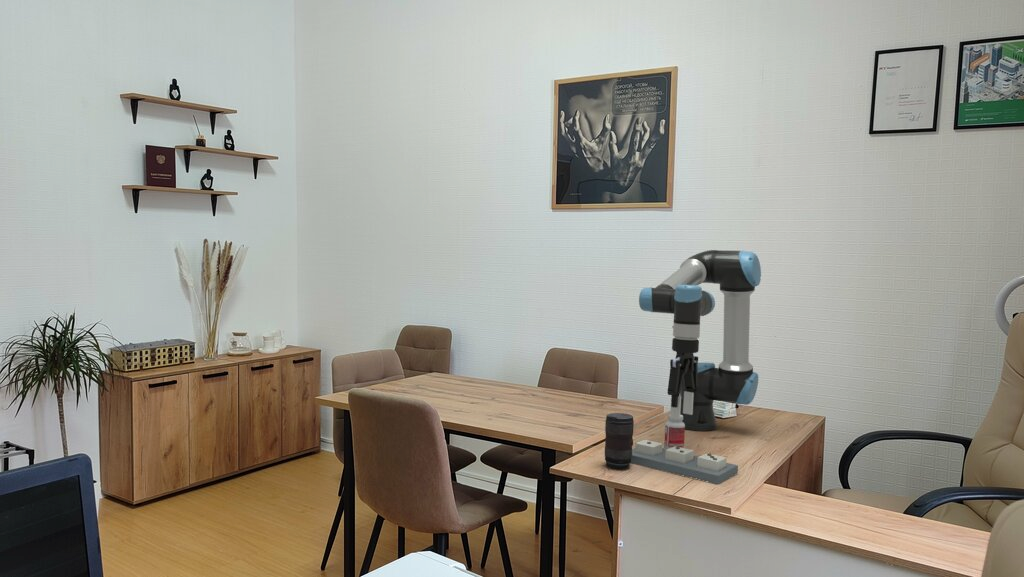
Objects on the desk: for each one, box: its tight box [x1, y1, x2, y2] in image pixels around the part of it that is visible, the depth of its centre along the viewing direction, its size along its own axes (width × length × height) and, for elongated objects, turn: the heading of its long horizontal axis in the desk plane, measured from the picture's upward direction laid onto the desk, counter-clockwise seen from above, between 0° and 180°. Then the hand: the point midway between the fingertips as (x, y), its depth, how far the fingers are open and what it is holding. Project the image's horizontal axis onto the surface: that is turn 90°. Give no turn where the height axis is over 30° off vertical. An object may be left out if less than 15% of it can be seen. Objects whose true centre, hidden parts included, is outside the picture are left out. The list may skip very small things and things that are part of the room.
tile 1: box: [634, 439, 664, 456], centre depth 218 cm, size 6×6×4 cm
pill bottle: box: [663, 413, 686, 449], centre depth 231 cm, size 6×6×11 cm
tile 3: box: [697, 452, 727, 471], centre depth 206 cm, size 6×6×4 cm
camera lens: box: [604, 412, 635, 471], centre depth 210 cm, size 8×8×15 cm
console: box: [630, 447, 739, 485], centre depth 212 cm, size 14×30×2 cm, turn 51°
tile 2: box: [665, 446, 694, 464], centre depth 212 cm, size 6×6×4 cm
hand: (681, 415), depth 211 cm, fingers open, 8 cm apart
